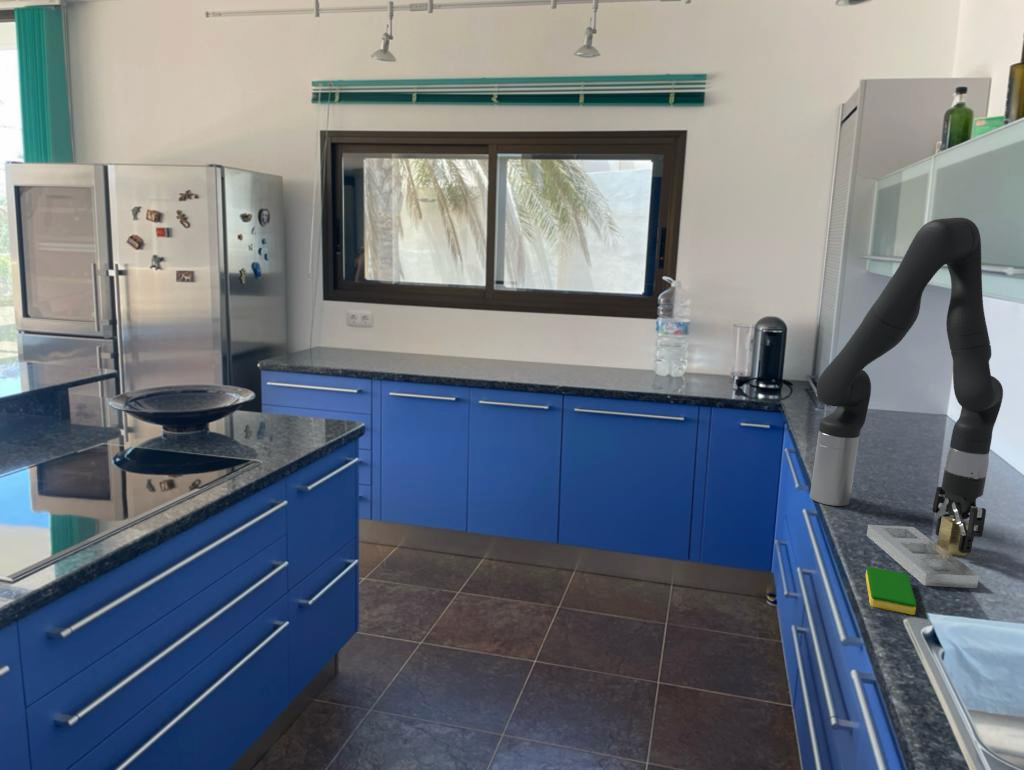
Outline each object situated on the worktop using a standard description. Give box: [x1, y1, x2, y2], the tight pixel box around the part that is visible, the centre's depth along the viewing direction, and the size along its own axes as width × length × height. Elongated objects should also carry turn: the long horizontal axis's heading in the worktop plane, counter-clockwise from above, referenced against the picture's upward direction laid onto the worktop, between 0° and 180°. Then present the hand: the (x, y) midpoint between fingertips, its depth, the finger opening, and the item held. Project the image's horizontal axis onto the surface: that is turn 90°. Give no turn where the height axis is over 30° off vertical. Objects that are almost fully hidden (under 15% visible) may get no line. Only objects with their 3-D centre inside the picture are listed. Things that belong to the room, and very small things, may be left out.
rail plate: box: [866, 524, 980, 589], centre depth 155 cm, size 24×10×2 cm, turn 0°
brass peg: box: [936, 516, 968, 557], centre depth 160 cm, size 4×4×7 cm
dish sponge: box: [865, 566, 917, 616], centre depth 139 cm, size 7×14×2 cm, turn 159°
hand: (952, 543), depth 160 cm, fingers open, 8 cm apart
